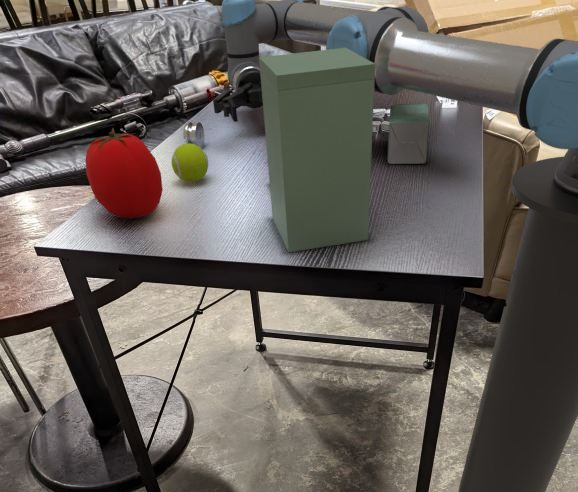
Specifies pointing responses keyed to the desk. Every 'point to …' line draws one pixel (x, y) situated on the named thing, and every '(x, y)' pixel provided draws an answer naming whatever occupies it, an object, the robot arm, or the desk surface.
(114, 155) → the tomato
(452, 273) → the desk surface
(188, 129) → the grooved metal pulley
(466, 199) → the desk surface
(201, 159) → the tennis ball
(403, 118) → the box
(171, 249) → the desk surface
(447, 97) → the robot arm
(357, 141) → the stand
